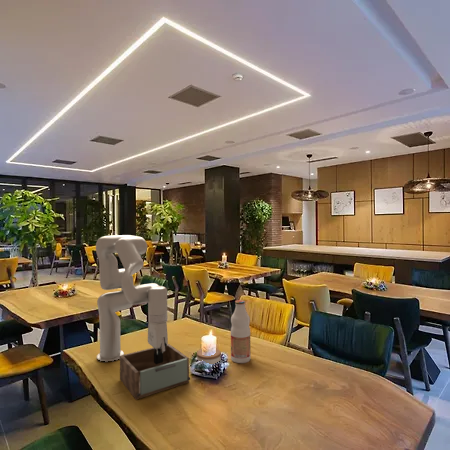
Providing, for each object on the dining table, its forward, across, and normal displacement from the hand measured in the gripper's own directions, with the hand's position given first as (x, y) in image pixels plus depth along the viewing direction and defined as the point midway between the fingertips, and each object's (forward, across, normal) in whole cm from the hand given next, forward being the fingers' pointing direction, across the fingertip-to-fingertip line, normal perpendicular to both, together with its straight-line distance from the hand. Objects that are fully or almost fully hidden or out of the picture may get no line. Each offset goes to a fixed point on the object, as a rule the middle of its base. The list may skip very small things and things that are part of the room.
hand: (158, 362), depth 130 cm
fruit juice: (+9, 0, +42) cm, 43 cm away
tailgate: (+7, +6, 0) cm, 9 cm away
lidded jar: (+9, 0, +24) cm, 26 cm away
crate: (+9, -4, 0) cm, 10 cm away
